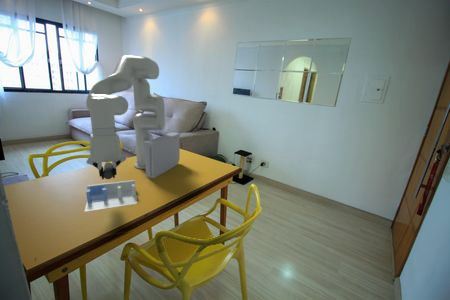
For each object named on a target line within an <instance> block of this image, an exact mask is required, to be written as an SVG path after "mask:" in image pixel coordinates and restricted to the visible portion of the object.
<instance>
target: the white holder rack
mask: <svg viewBox="0 0 450 300" xmlns="http://www.w3.org/2000/svg"><path fill="white" fill-rule="evenodd" d="M86 187H87V188H86V192H85V193H86V205H85V208H84V213H86V212H92V211H94V212H95V211H99V210H105V209H113V208H117V207H119V208H120V207H125V206H131V205H132V206H133V205H137V204H138V199H137V198H138V197H137V191H136V180H135V179H132V180H131V179H130V180H122V181H115V182H105V183H104V182H103V183H96V184H89V185H86Z"/></svg>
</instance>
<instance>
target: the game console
mask: <svg viewBox="0 0 450 300" xmlns="http://www.w3.org/2000/svg"><path fill="white" fill-rule="evenodd" d="M180 137H181V134H180V133H179V132H174V131H173V132H168V133H165V134H163V135H161V136H158V137H157V136H156V137H153V139H151V140H148V141H145V163H146V169H145V177H146V178H151V179H155V178H157V177H159V176H160V175H162V174H164V173H166V172H167V171H170V170H171V169H173V168H174V167H176V166H177V165H179V162H180V159H181V158H180V154H181V153H180V151H181V150H180V149H181V148H180V146H181V145H180V143H181V140H180V139H181V138H180Z"/></svg>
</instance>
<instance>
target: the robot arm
mask: <svg viewBox="0 0 450 300" xmlns="http://www.w3.org/2000/svg"><path fill="white" fill-rule="evenodd" d="M159 75H160V67H159V65H158V63H157V62H155V60H153V59H151V58H149V57H147V56H141V55H123V56H122V57H120V59H119V60H118V63H117V64H116V66H115V68H114V71H113V72H112V74H111V75H109V76H107V77H105V78H103V79H101V80H99V81H98V82H96V83H95V84H94V85H93V86H92V87H91V89H90V90H89V93H88V94H87V97H86V101H85V104H86V108H87V110H88V111H89V115H90V117H89V118H90V123H91V133H92V134H89V135H90V136H89V156H88V157H87V160H86V164H87V165H90V166H93V167H95V168H96V169H97V170H98V174H99V177H100V178H101V180H104V179H105V178H104V167H103V163H108V162H111V163H112V164H113V165H112V173H113V177H112V178H113V179H115V178H116V176H117V175H118V174H117V169H118V166H119V165H120V164H121V163H124V162H125V161H126V160H127V158H126V156H125V154H123V153H122V147H121V141H120V137H119V134H118V132H121V130H120V127H116V122H115V121H116V119H115V116H122V115H124V114H126V113H127V112H128V110H129V102H128V100H127V99H126V97H124V96H121V95H113V94H116V93H117V94H118V93H121V92H125V91H127V90H130V89H132V88H133V100H134V107H135V109H136V111H139V112H143V113H136V114H135V115H134V116H133V118H132V123H133V127H134V128H133V129H134V134H135V147H136V148H135V150H136V153H135V154H136V162H134V164H133V165H134V168H137V169H140V170H146V163H145V141H148V140H151V139H154V137H153V135H152V133H151V131H153V132H162V131H164V129H165V126H166V115H165V114H166V113H165V112H166V111H165V110H166V109H165V107H166V106H165V100H164V97H162V96H161V95H159V94H151V86H150V82H149V81H148V80H156V79H158V77H159ZM144 112H145V113H144ZM146 112H147V113H146ZM154 113H155V114H154Z"/></svg>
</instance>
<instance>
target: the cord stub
mask: <svg viewBox="0 0 450 300" xmlns="http://www.w3.org/2000/svg"><path fill="white" fill-rule="evenodd" d="M112 165H113V163H112V162H110V161H107V162H105V164H104V167H103V169H104V179H106V180H111V179H112V178H113V173H112Z"/></svg>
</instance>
